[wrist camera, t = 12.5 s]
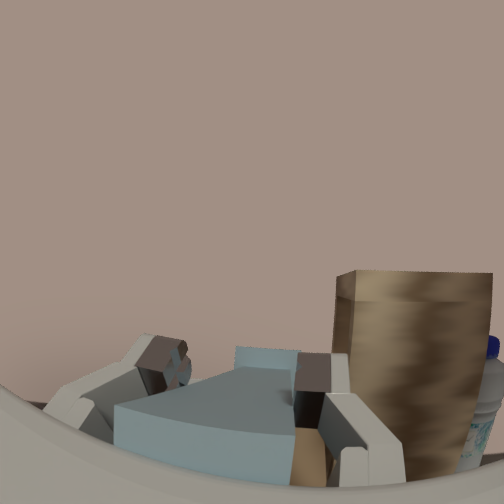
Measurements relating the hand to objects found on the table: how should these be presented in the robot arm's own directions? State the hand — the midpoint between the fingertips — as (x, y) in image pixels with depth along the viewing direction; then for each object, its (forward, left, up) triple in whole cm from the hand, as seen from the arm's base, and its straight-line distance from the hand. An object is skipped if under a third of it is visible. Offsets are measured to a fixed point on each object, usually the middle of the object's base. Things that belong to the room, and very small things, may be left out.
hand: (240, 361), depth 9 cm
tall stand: (-11, -17, -22) cm, 30 cm away
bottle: (-22, -19, -23) cm, 37 cm away
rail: (0, -6, -6) cm, 8 cm away
